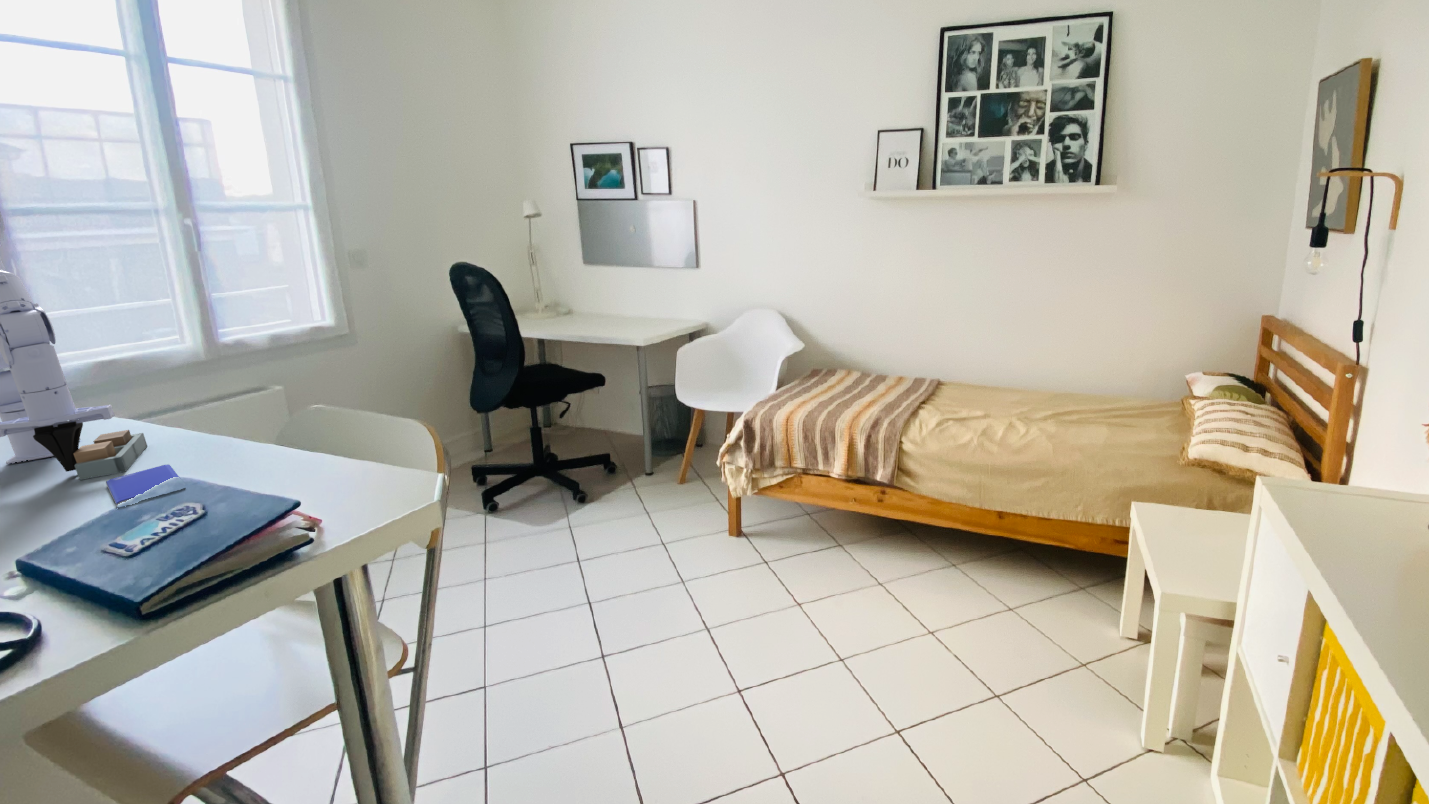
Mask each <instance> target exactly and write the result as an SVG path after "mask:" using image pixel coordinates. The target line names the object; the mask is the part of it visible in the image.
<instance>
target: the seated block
mask: <svg viewBox="0 0 1429 804" xmlns="http://www.w3.org/2000/svg"><path fill="white" fill-rule="evenodd" d="M131 435H132V434H131V431H130V430H129V429H125V430H119V431H114V432H107V433H102V434H100V435H99V436H97V438H95V439H94V440H93V444H97V443H102V442H108V441H112V443H113V446H114V447H116V446H121V445H126V444H127V443H128V442H129V441H130V440H131V439H132V437H131Z"/></svg>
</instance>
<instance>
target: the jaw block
mask: <svg viewBox="0 0 1429 804" xmlns="http://www.w3.org/2000/svg"><path fill="white" fill-rule="evenodd" d="M73 454H74V457H75V459H76V462H77V463H82V462H87V461H93V460H98V459H104V458H109V457H115V456H116V452H115V449H114V446H113V443H112V441H108V442H102V443H97V444H94V443H92V444H86V445H82V446H80V447H78V450H77V451H76V452H75V453H73Z"/></svg>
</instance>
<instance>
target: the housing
mask: <svg viewBox="0 0 1429 804" xmlns="http://www.w3.org/2000/svg"><path fill="white" fill-rule="evenodd" d="M131 437H132V439H131V440H130V441H129V442H128V443H127V444H126V445H121V446H116V447H114V449H115V452H116V456H115V457H109V458H104V459H98V460H93V461H87V462H82V463H76V464H75V465H74V466H75V469H76V470H75V471H76V473H77V476H78V477H77V478H78V479H79V481H83V480H88V479H93V478H98V477H103V476H109V475H114V474H119V473H124V472H127V470H129V468H130V467H131V466H132V465H133V464H134V462H136V460H137V459H138V458H139V456H141V454H142V453H143V452H144V450H146V448H147V447H148V443H147V441H146V437H145V435H144V432H139V433H135V434H131Z"/></svg>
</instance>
